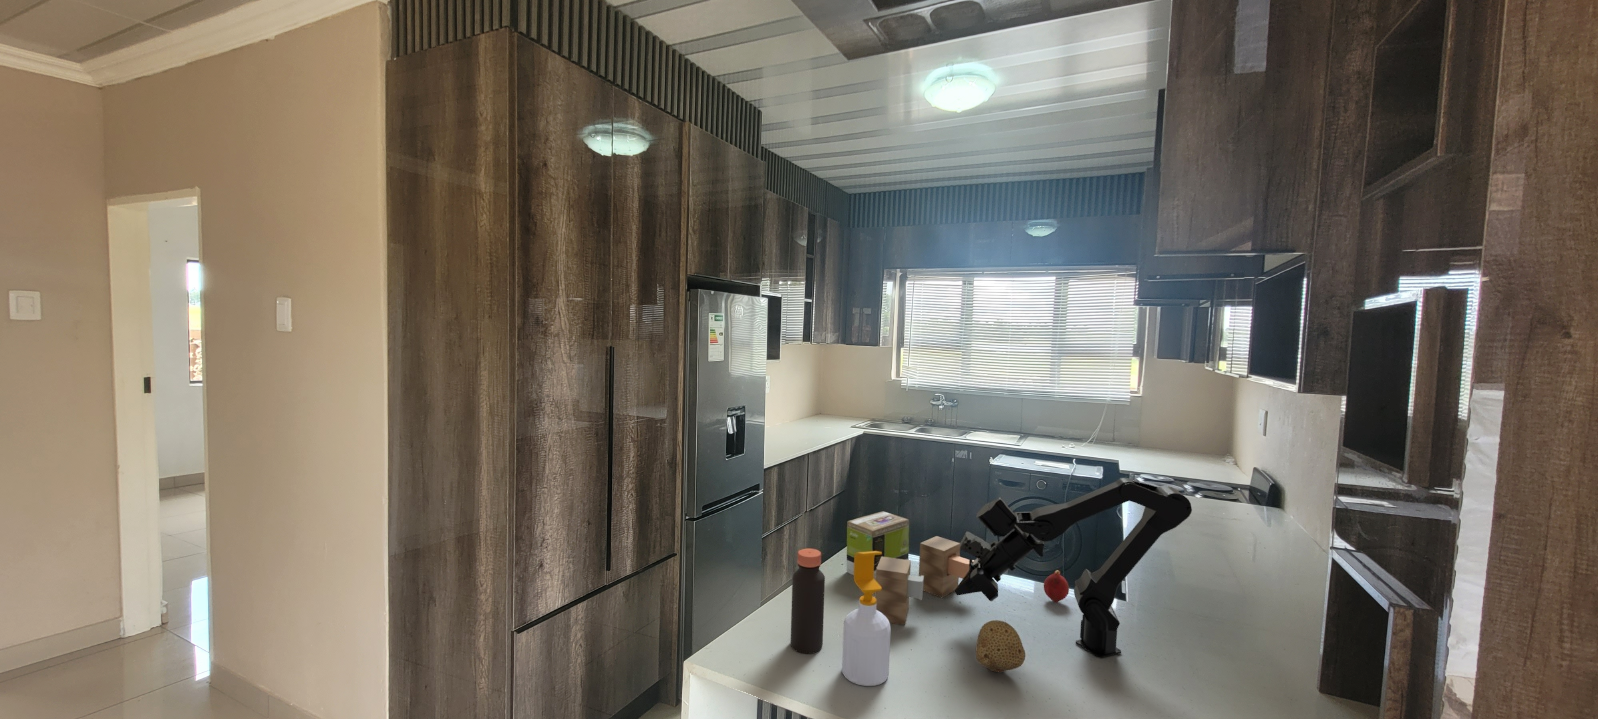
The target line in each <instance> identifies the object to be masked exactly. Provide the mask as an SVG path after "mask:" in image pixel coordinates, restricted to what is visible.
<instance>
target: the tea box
mask: <svg viewBox="0 0 1598 719" xmlns="http://www.w3.org/2000/svg"><path fill="white" fill-rule="evenodd" d="M846 525H847V526H846V573H847V574H850V575H852V576H854V556H855V553H857V552H870V551H879V552H882V554H880V555H875V556H874V579H875V581H876V569H877V566H878V564H879V561H880V559H881V557H889V558H896V559H904V560H909V553H910V548H909V547H910V519H908V518H905V517H903V516H899V515H896V514H892V513H889V512H886V511H884V510H883V511H879V512H875V513H871V514H868V515H864V516H861V517H858V518H855V519H851V520H848V521H847V524H846Z"/></svg>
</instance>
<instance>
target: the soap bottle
mask: <svg viewBox="0 0 1598 719" xmlns="http://www.w3.org/2000/svg"><path fill="white" fill-rule="evenodd" d="M880 554H882V552H879V551H870V552H857V553H855V556H854V575H853V581H854V583H855V585H856V586H857V587H858V588H859V590H860V591H861V593H863V595H862V596H860V597H859V601H858V608H856V609H854V610H852V611H851V612H849V613H848V614H847V615H846V616H845V618H844V620H843V633H842V635H843V637H842V639H843V640H842V662H841V666H842V667H841V673H842V675H843V676H844V677H845V679H847V680H848V681H849V682H850V683H853V684H856V685H858V686H864V687H874V686H879V685H881V684H883V683H885V682H886V681H887V679H888V678H889V674H890V654H891V653H890V652H891V631H892V630H891V623H889V620H888V619H887V618H886V617H885V616H884V615H883V614H882V613H881V612H879V611H878V610H876V601H877V600H876V598H875V596H873V594H875V591H881V590H882V587H881V586H880V585H879V584H878V583H877V582H876V581H875V579H874V556H875V555H880Z"/></svg>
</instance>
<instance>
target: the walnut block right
mask: <svg viewBox="0 0 1598 719" xmlns="http://www.w3.org/2000/svg"><path fill="white" fill-rule="evenodd" d="M952 554H953V555H956V556H959V557H961V549H960V542H957V541H954V540H952V539H951V540H950V539H948V538H945V537H940V536H938V535H936V536H934V537H930V538H929V539H927V540H925V541H922V542H920V543H919V561H918V562H919V563H918V576H921V575H922V576H924V583H923V592H926V593H929V594H931V595H934V596H936V597H940V598H941V597H942V598H944V597H946V596H947V595H949V594H952V592H955V589H956V588H957V586H958V585H959V577H956V576H954V575H951V574H948V573H947V565H948V556H950V555H952Z"/></svg>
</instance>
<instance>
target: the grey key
mask: <svg viewBox="0 0 1598 719" xmlns="http://www.w3.org/2000/svg"><path fill="white" fill-rule="evenodd" d="M923 583H924V576H922V575H921V576H919V575H913V574H910V575H909V576H908V585H907V597H909V598H911V599H918V600H919V601H922V600H923V595H924V591H923Z"/></svg>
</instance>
